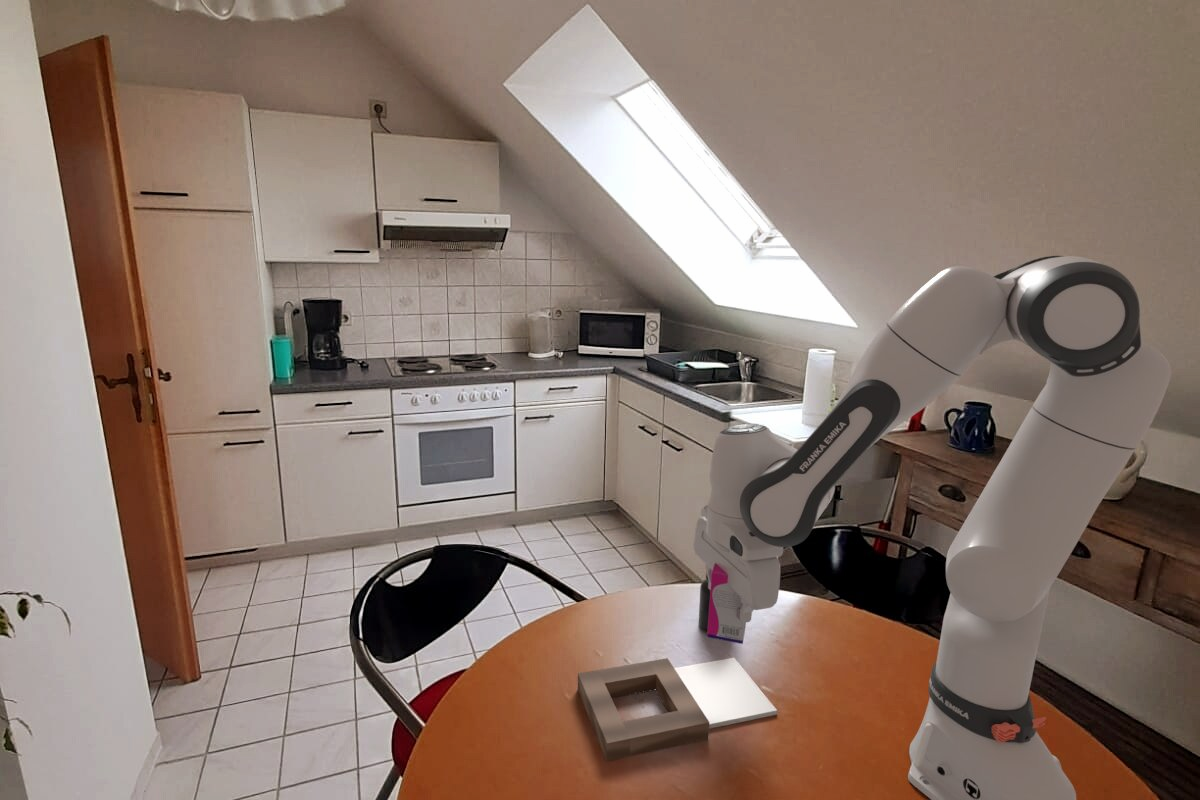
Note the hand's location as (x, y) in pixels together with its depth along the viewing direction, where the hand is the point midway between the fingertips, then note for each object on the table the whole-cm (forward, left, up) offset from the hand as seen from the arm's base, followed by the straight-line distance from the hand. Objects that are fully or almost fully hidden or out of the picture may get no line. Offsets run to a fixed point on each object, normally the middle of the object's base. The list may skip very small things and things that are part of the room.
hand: (728, 604), depth 102 cm
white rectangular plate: (0, 0, -16) cm, 16 cm away
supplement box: (0, 0, -5) cm, 5 cm away
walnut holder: (-1, +15, -16) cm, 22 cm away
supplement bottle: (+18, -8, -16) cm, 26 cm away
